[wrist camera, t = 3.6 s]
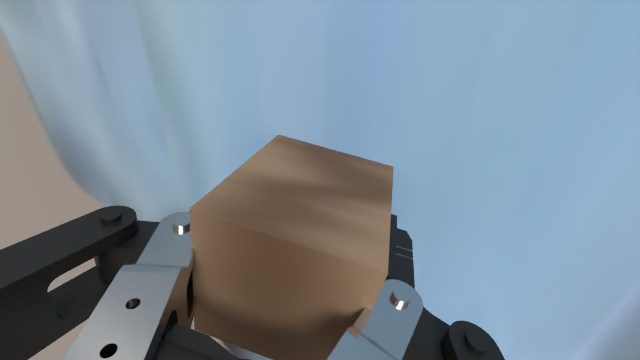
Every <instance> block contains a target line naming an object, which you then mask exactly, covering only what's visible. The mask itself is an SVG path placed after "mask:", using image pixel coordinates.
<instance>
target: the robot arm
mask: <svg viewBox="0 0 640 360" xmlns="http://www.w3.org/2000/svg"><path fill="white" fill-rule="evenodd" d="M92 258H94V259H95V263H96V266H95V267H93V268H91V269H89V270H88V271H86V272H84V273H82V274H80V275H79V276H77V277H75V278H73V279H71V280H70V281H68V282H66V283H64V284H62V285H61V286H59V287H57V288H55V289H53V290H52V291H50V292H47V289H48V287H49V285H50V283H51V282H52V281H53V280H54V279H55V278H57V277H58V276H60V275H62V274H64V273H66V272H67V271H69V270H71V269H73V268H75V267H77V266H79V265H81V264H82V263H84V262H86V261H88V260H90V259H92ZM194 263H195V249H194V248H191V232H190V212H179V213H174V214H171V215H169V216H167V217H165V218H164V219H163V220H162V221H161V222H149V221H137V216H136V212H135V211H134V210H133V209H131V208H129V207H126V206H109V207H105V208H101V209H98V210H96V211H94V212H91V213H89V214H86V215H84V216H81V217H79V218H77V219H74V220H72V221H69V222H67V223H64V224H62V225H60V226H57V227H55V228H52V229H50V230H48V231H45V232H43V233H40V234H38V235H35V236H33V237H30V238H28V239H26V240H23V241H21V242H18V243H16V244H14V245H11V246H9V247H6V248H4V249H1V250H0V360H28V359H29V358H31V357H32V356H34V355H35V354H37V353H38V352H40V351H41V350H43V349H44V348H45V347H47V346H48V345H50V344H51V343H53V342H54V341H56V340H57V339H59V338H60V337H62V336H63V335H64V334H66V333H68V332H69V331H71V330H72V329H73V328H75V327H76V326H78V325H79V324H81V323H82V322H84V321H85V320H87V319H88V318H89V319H88V320H87V322H86V323H85V325H84V327H83V328H82V330H81V332H80V333H79V335H78V336H77V338H76V339H75V341H74V343H73V344H72V346H71V347H70V349H69V350H68V352H67V353H66V355H65V357H64V358H63V360H248V359H239V358H237V357H235V356H234V355H232V354H231V353H230V352H229V351H227V350H226V349H225V348H224V347H222V346H221V345H220V344H219V343H217V342H216V341H215V340H213V339H212V338H211V337H210V336H208V335H206V334H203V333H201V332H198V331H195V330H193V329H191V324H192V320H193V317H194V314H195V311H196V307H197V296H194V295H193V277H192V269H193V266H194ZM327 360H505V359H504V357H503V355H502V353H501V351H500V349H499V348H498V346H497V344H496V343H495V341H494V340H493V339H492V338H491V336H490V335H489V334H488V333H486V332H485V331H484V330H483V329H482V328H480V327H478V326H477V325H475V324H473V323H470V322H467V321H456V322H454V323H453V324H452V325H451V326H450V325H448V324H447V323H445V322H443V321H442V320H440V319H439V318H437V317H435V316H434V315H432V314H431V313H430V312H429V311H427V310H426V309H425V308H424V307H423V302H422V299H421V297H420V295H419V294H418V293H417V291H416V290H415V285H414V267H413V252H412V240H411V238H410V236H409V235H408V233H407V231H404V230H401V229H398V228H397V216H396V215H393V214H391V223H390V243H389V263H388V275H387V277H386V279H385V282H384V284H383V286H382V288H381V291H380V293H379V295H378V298H377V300H376V302H375V304H374V307H373V309H369V308H366V307H365V309H364V310H363V312H362V313H361V315H360V316H359V318H358V319H357V321H356V322H355V324H354V325H353V326H350V327H349V328H348V329H347V330H346V332H345V333H344V335H343V336H342V338H341V339H340V341H339V342H338V344H337V345H336V347H335V348H334V350H333V351H332V353H331V354H330V356H329V357H328V359H327Z"/></svg>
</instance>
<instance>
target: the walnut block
mask: <svg viewBox="0 0 640 360" xmlns="http://www.w3.org/2000/svg"><path fill="white" fill-rule="evenodd" d="M392 182H393V167H392V166H389V165H385V164H381V163H378V162H374V161H371V160H367V159H363V158H360V157H356V156H353V155H349V154H346V153H342V152H338V151H335V150H331V149H328V148H324V147H320V146H317V145H313V144H310V143H306V142H302V141H299V140H295V139H292V138H288V137H285V136H281V135H278V136H276V137H275V138H274V139H273V140H272V141H270V142H269V143H268V144H267V145H266V146H264V147H263V148H262V149H261V150H260V151H258V152H257V153H256V154H255V155H254V156H252V157H251V158H250V159H249V160H248V161H246V162H245V163H244V164H243V165H242V166H240V167H239V168H238V169H237V170H236V171H234V172H233V173H232V174H231V175H230V176H228V177H227V178H226V179H225V180H224V181H222V182H221V183H220V184H219V185H218V186H216V187H215V188H214V189H213V190H212V191H210V192H209V193H208V194H207V195H206V196H204V197H203V198H202V199H201V200H200V201H198V202H197V203H196V204H195V205H194V206H192V207H191V208H190V232H191V248H194V249H195V263H194V266H193V269H192V277H193V295H194V296H197V307H196V311H195V314H194V323H195V330H197V331H200V332H202V333H205V334H207V335H210V336H213V337H215V338H218V339H220V340H223V341H226V342H228V343H231V344H234V345H236V346H239V347H241V348H244V349H247V350H249V351H252V352H254V353H257V354H260V355H262V356H265V357H267V358H270V359H273V360H327V359H328V357H329V356H330V354H331V353H332V351H333V350H334V348H335V347H336V345H337V344H338V342H339V341H340V339H341V338H342V336H343V335H344V333H345V332H346V330H347V329H348V328H349V327H350V326H353V325H354V324H355V322H356V321H357V319H358V318H359V316H360V315H361V313H362V312H363V310H364V309H365V307H366V308H369V309H373V307H374V304H375V302H376V300H377V298H378V295H379V293H380V291H381V288H382V286H383V284H384V282H385V279H386V277H387V275H388V263H389V243H390V223H391V202H392Z"/></svg>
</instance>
